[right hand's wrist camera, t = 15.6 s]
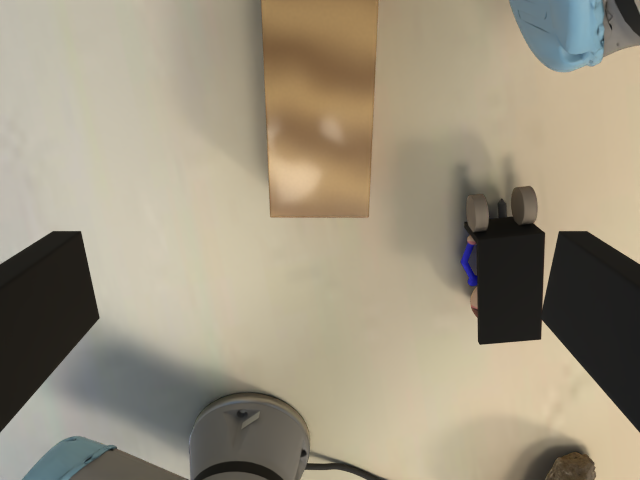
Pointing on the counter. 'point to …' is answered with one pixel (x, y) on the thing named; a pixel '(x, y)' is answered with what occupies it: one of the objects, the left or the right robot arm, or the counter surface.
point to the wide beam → (319, 105)
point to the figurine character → (506, 268)
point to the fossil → (572, 468)
